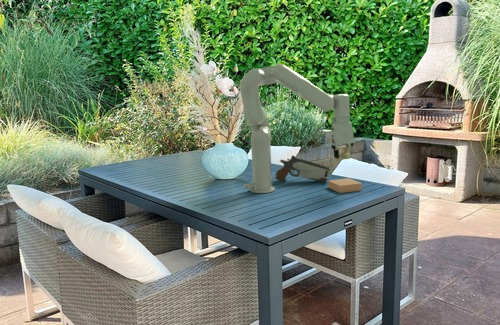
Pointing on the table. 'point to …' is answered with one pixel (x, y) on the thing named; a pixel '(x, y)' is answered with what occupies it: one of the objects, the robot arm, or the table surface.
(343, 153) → the beech cube
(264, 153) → the robot arm
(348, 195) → the table surface
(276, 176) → the gun
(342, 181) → the terracotta base
